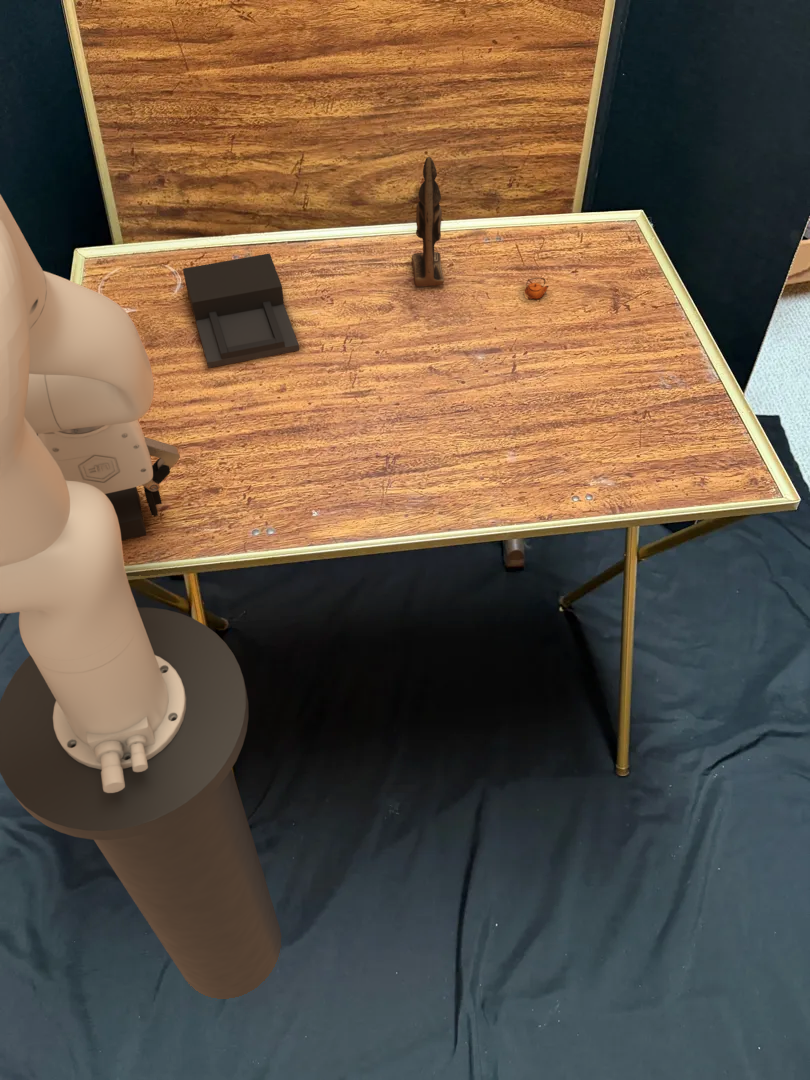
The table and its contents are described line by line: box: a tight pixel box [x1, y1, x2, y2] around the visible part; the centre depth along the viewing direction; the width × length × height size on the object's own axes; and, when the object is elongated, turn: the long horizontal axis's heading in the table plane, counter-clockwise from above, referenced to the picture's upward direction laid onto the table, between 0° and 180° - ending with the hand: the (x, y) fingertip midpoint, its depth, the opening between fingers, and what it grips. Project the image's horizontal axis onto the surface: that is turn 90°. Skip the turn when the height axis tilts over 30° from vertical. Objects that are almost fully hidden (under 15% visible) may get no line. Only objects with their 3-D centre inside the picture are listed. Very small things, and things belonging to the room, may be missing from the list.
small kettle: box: [523, 277, 550, 301], centre depth 134 cm, size 3×3×3 cm
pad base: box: [182, 253, 300, 369], centre depth 129 cm, size 16×12×4 cm
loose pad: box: [105, 487, 147, 541], centre depth 108 cm, size 6×5×3 cm
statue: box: [411, 156, 445, 287], centre depth 129 cm, size 4×7×20 cm, turn 5°
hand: (118, 513), depth 109 cm, fingers open, 7 cm apart
